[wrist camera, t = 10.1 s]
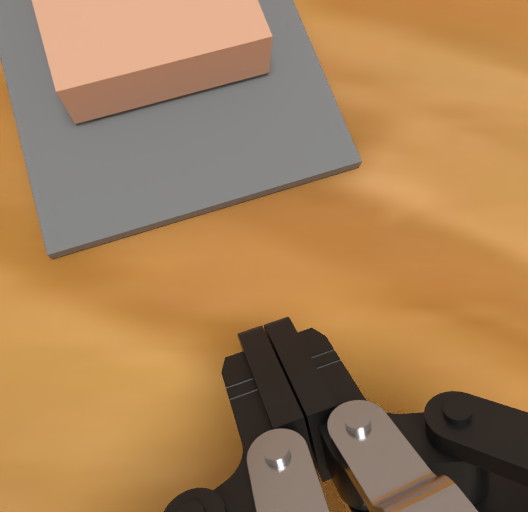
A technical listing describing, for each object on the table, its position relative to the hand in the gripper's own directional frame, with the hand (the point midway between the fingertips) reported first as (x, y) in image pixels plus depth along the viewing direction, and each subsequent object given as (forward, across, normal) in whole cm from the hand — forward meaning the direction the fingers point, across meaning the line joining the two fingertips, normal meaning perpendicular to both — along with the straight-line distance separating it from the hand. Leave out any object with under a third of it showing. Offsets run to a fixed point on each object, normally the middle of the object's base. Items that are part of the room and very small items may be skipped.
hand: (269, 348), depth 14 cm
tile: (+12, 0, +6) cm, 13 cm away
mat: (+16, 0, +7) cm, 17 cm away
